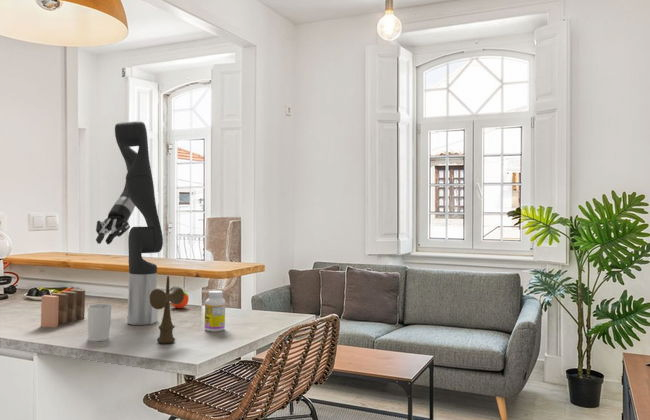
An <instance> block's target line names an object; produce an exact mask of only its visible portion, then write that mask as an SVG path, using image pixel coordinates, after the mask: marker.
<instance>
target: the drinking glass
mask: <svg viewBox="0 0 650 420" xmlns="http://www.w3.org/2000/svg"><path fill="white" fill-rule="evenodd" d="M111 315H112V304H109V303H95V304H93V303H92V304H89V305H87V332H88V333H87V334H88V335H87V340H88V341H90V342H102V341H108V340H109V339H110V329H111V317H112V316H111Z"/></svg>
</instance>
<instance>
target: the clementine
mask: <svg viewBox="0 0 650 420" xmlns="http://www.w3.org/2000/svg"><path fill="white" fill-rule="evenodd" d="M183 292H184V299H183V301H182V303H180V304H174V303H171V302H170V305H172V307H174V308H176V309H183V308H185V307H186V306H187V305H188V303H189V299H190V298H189V294H188V293H187V292H186V291H184V290H183Z"/></svg>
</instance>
